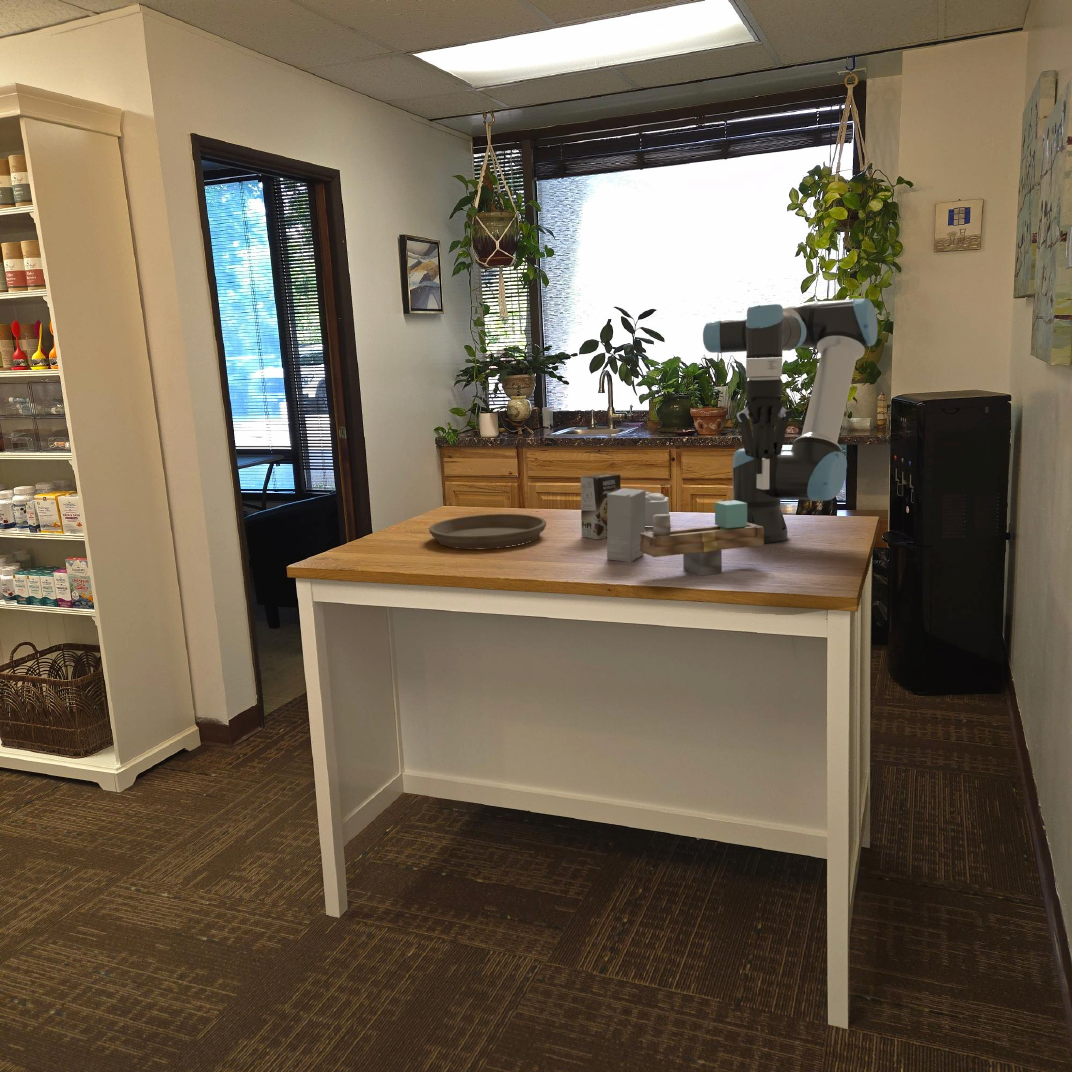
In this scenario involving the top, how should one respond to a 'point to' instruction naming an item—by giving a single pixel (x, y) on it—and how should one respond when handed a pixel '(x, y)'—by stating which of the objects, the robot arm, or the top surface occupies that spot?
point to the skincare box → (625, 524)
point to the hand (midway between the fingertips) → (762, 488)
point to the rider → (730, 514)
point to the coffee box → (596, 503)
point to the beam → (698, 543)
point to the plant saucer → (488, 530)
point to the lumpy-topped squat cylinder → (655, 506)
